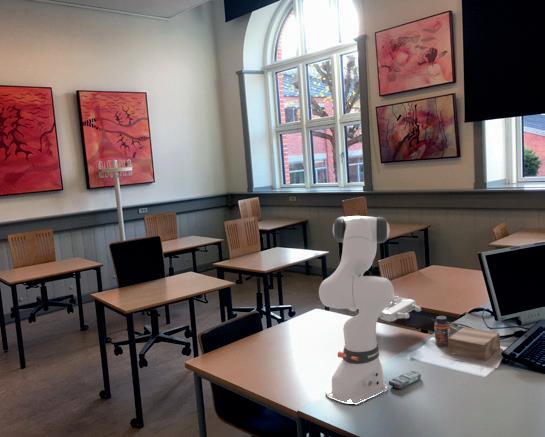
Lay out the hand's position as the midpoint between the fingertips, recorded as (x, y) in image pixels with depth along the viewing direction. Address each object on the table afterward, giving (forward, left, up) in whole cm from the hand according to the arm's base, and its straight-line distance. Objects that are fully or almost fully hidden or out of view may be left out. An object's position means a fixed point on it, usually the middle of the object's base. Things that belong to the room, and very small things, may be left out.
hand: (414, 312), depth 208 cm
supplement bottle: (0, -12, -12) cm, 17 cm away
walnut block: (0, -25, -11) cm, 28 cm away
